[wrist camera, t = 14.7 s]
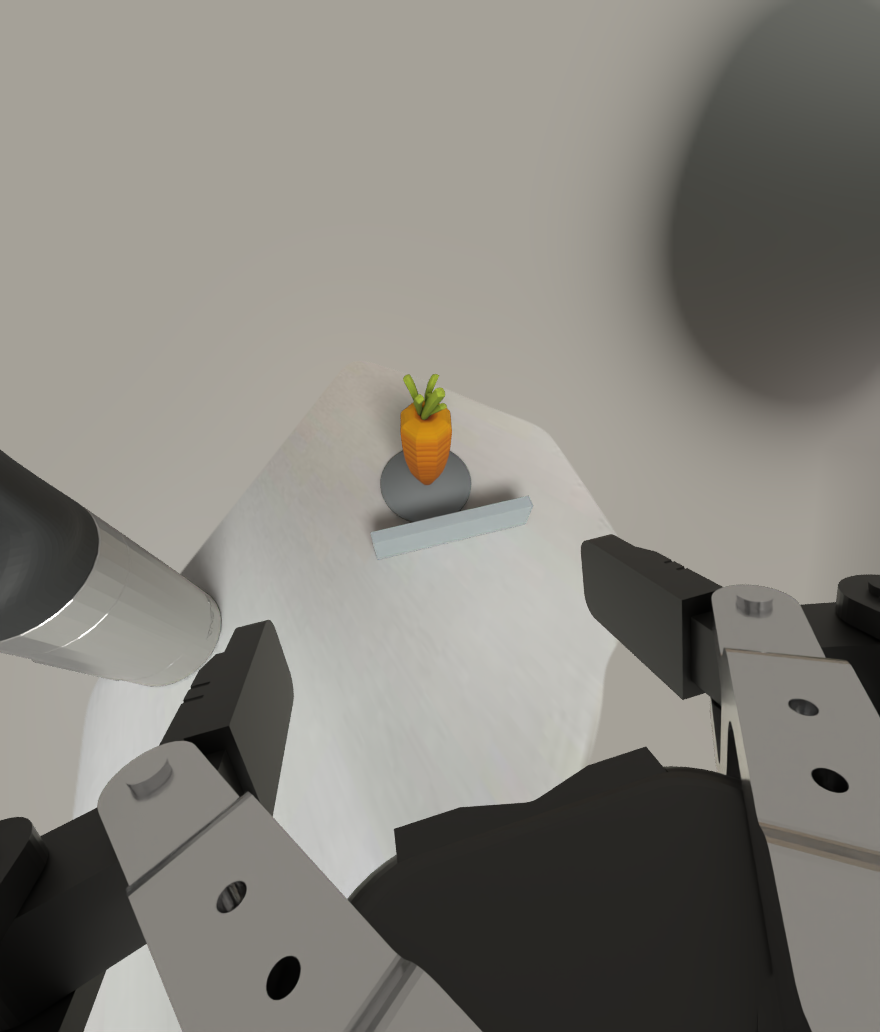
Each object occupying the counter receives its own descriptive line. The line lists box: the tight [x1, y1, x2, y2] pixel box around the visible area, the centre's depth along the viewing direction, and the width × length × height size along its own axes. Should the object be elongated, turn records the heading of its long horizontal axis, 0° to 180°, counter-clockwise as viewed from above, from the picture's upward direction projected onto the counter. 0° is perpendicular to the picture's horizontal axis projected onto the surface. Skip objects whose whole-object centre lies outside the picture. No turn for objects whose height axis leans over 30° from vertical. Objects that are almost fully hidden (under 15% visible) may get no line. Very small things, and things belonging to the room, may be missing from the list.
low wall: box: [371, 496, 533, 560], centre depth 44 cm, size 16×1×4 cm, turn 105°
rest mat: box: [381, 451, 471, 522], centre depth 49 cm, size 10×10×1 cm
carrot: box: [401, 374, 452, 485], centre depth 42 cm, size 5×5×15 cm
